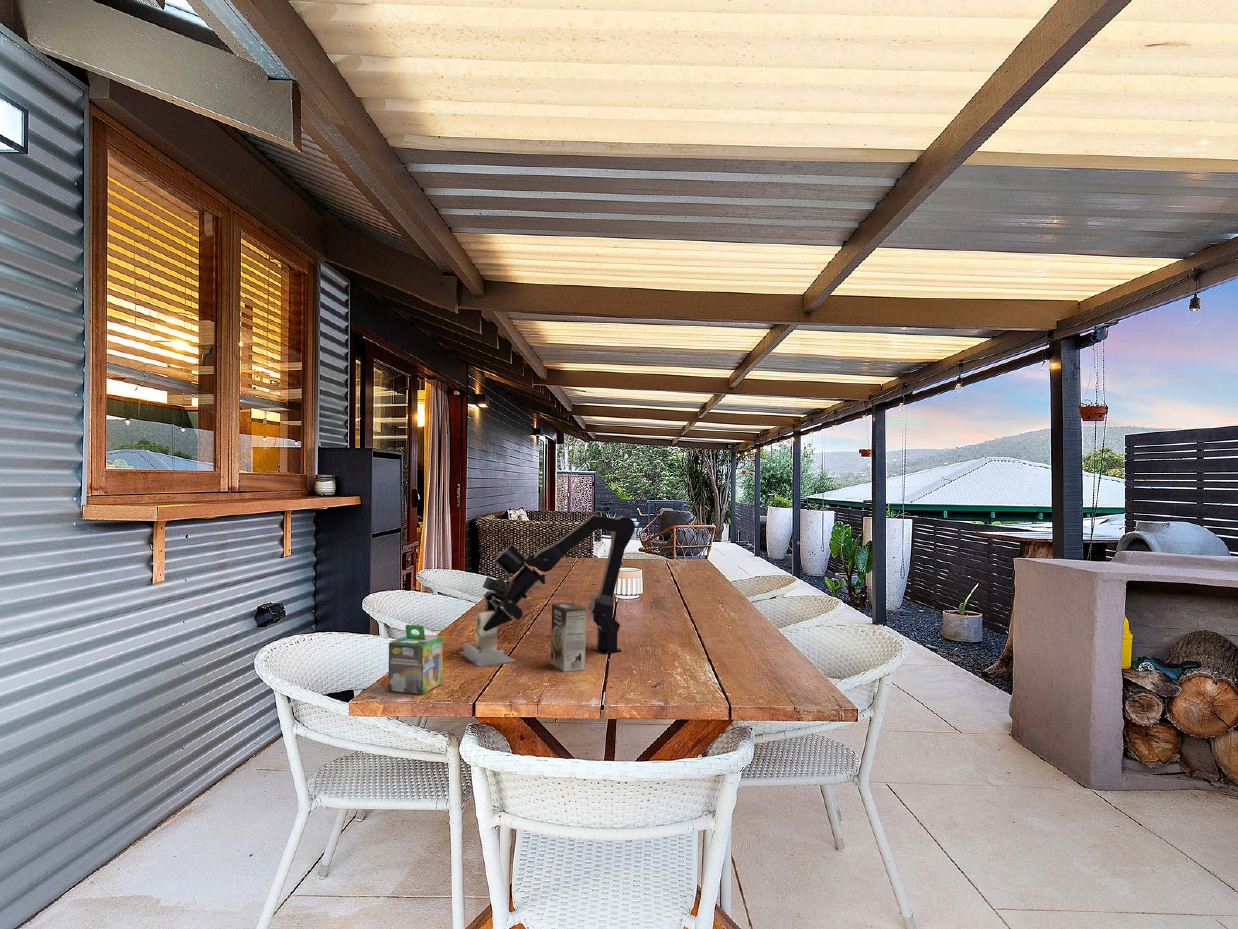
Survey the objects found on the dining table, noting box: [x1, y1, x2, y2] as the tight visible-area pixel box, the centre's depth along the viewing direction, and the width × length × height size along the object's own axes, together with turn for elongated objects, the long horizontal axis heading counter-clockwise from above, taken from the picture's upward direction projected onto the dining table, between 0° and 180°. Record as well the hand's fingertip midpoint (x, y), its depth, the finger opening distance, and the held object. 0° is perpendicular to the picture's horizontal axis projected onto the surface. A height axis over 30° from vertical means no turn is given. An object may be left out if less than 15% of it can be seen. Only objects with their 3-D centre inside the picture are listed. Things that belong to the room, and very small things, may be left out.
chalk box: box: [388, 624, 443, 696], centre depth 158 cm, size 9×9×15 cm
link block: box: [474, 610, 498, 653], centre depth 187 cm, size 4×5×11 cm
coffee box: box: [550, 602, 587, 673], centre depth 179 cm, size 9×6×16 cm
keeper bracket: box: [459, 642, 516, 668], centre depth 187 cm, size 16×10×4 cm, turn 31°
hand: (481, 628), depth 186 cm, fingers closed on link block, 5 cm apart
